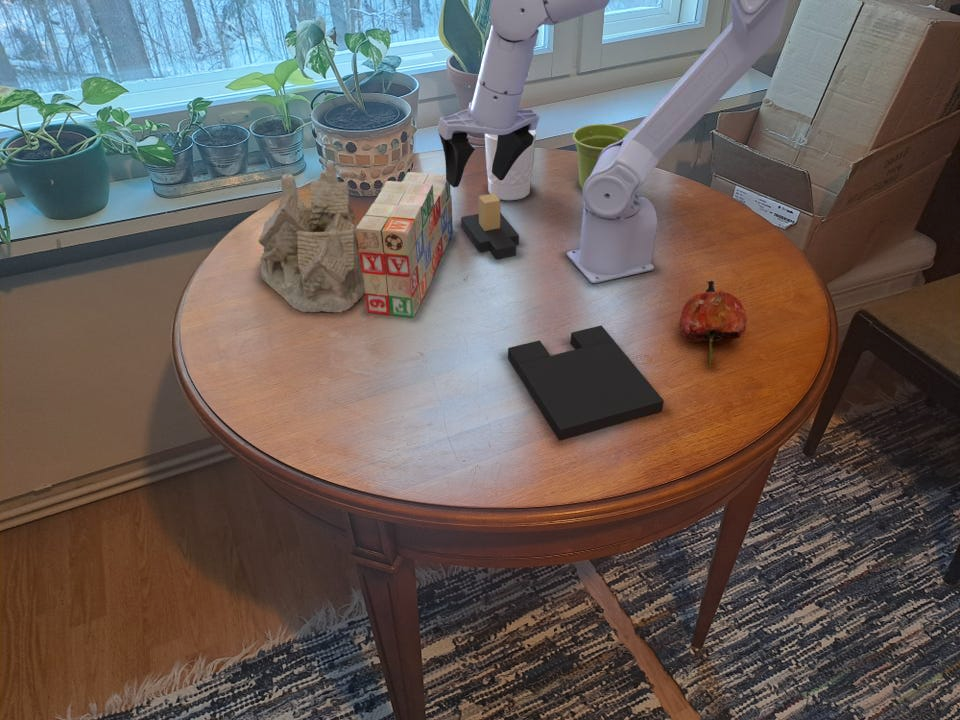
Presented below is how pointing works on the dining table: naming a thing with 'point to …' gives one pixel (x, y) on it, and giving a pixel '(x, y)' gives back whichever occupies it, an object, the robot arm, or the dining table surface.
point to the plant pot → (594, 145)
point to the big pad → (584, 383)
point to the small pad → (491, 229)
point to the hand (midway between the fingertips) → (475, 179)
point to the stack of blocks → (404, 242)
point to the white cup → (510, 171)
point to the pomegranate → (713, 317)
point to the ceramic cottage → (313, 247)
